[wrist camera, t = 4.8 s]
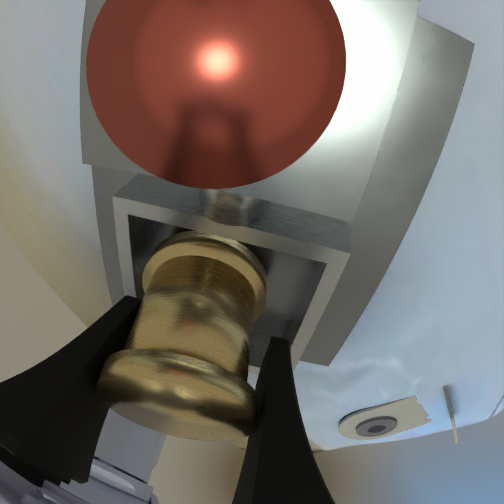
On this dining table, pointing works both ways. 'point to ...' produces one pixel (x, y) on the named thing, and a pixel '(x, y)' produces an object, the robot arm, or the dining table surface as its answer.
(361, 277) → the valve base
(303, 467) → the robot arm
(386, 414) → the bracket
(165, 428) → the brass spool
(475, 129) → the dining table surface
